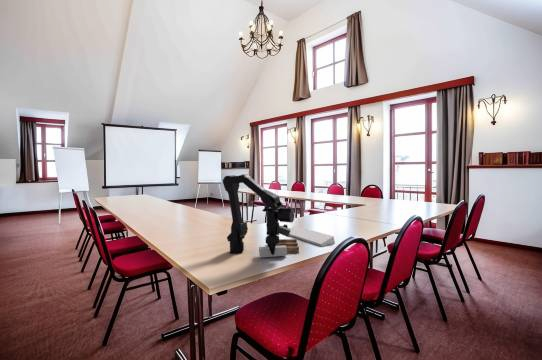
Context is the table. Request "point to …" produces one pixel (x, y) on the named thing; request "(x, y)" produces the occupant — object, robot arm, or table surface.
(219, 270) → the table surface
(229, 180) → the robot arm
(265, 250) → the clay strip
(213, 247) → the table surface
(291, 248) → the drying rack
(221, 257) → the table surface
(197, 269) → the table surface
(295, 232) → the decorative molding
